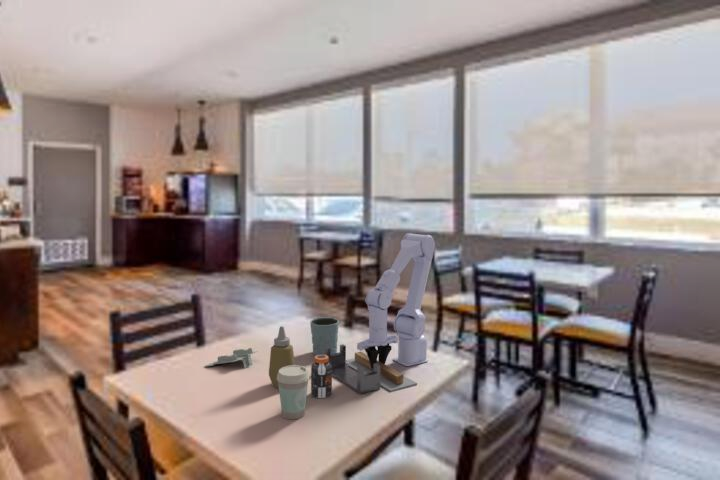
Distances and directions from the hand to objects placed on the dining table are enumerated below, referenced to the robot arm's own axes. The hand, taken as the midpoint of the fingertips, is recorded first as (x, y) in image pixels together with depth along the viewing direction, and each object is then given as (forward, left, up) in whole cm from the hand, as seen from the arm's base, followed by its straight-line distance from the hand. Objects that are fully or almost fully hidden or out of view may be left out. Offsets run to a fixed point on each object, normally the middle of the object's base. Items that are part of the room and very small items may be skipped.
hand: (377, 367), depth 155 cm
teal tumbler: (+6, -25, -2) cm, 26 cm away
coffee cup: (+35, +12, -2) cm, 37 cm away
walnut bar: (0, 0, -1) cm, 1 cm away
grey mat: (0, 0, -2) cm, 2 cm away
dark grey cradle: (+10, 0, -2) cm, 10 cm away
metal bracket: (+37, -32, -2) cm, 49 cm away
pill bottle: (+23, +5, -2) cm, 24 cm away
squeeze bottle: (+30, -7, -2) cm, 31 cm away
